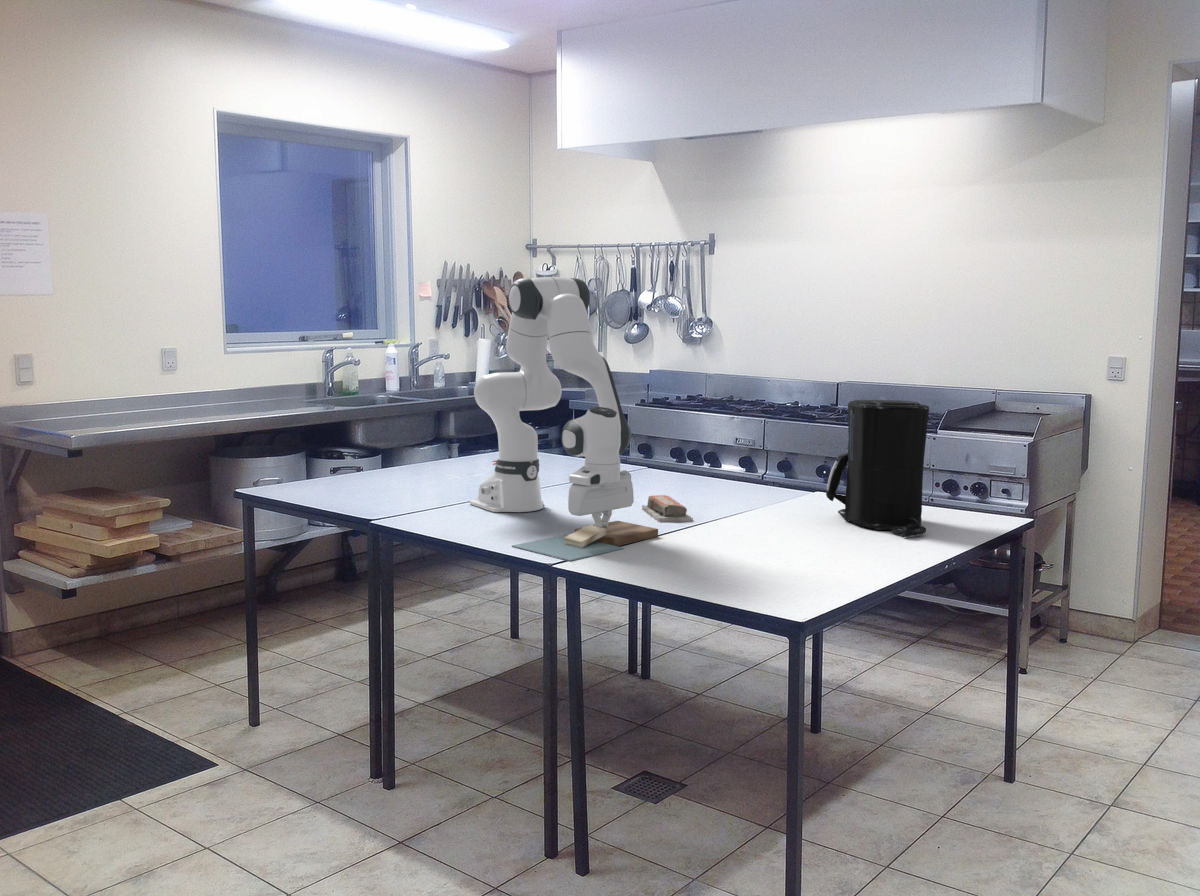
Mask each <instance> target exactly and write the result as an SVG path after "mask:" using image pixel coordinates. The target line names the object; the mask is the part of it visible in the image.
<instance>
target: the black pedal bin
mask: <svg viewBox="0 0 1200 896" xmlns="http://www.w3.org/2000/svg"><path fill="white" fill-rule="evenodd" d="M929 412H930V406H928V405H926V404H921V403H919V402H917V401H911V400H894V399H893V400H892V399H851V400H850V401H848V403H847V419H848V420H847V421H848V422H847V424H848V425H847V426H848V429H847V430H848V445H847V448H846V449H847V452H846V453H841V454H838V456H837V457H836V459H835V461H834V464H833V465H832V467H831V469H830V472H829V476H828V480H827V485H826V492H825V496H826V498H827V499H829V500H830V501H831V502H833V501H834V499H836V500H837V501H839V502H840V503H841V504H843V505H844V508H841V509H838V510H837V513H838V514H839V515H840V516H842V517H843V518H844V519H843V520H844V521H845V522H850V523H852V524H856V525H858V526H861V527H864V528H867V529H874V530H877V531H892V534H895V535H898V536H899V535H901V538H904V537H906V538H907V537H912V536H918V535H922V534H925V533H926V532H927V528H926V527H925V526H922V511H923V483H924V482H923V481H924V479H923V478H924V464H925V451H926V443H927V434H928V425H929V424H928V422H929V414H930V413H929ZM846 467H847V471H846V472H847V475H846V476H847V477H846V487H845V495H842V494H839V493H838V494H837V492H838V488H839V487H840V485H841V484H840V483H841V481H842V478H843V475H844V472H845V470H846ZM913 529H917V530H913Z"/></svg>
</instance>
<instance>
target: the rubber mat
mask: <svg viewBox="0 0 1200 896" xmlns="http://www.w3.org/2000/svg"><path fill="white" fill-rule="evenodd" d="M568 535H569V534H566V533H565V534H561V535H556V536H551V537H546V538H542V539H537V540H532V541H527V542H522V543H518V544H513V545H511V547H512V548H515V549H519V550H522V551H523V550H524V551H528V552H532V553H535V552H536V554H539V553H541V554H540V555H543V554H545V555H544V556H547V555H549V556H548V557H551V556H554V557H553V558H555V557H557V558H556V559H559V558H561V559H560V560H563V559H564V560H563V561H568V562H573V561H577V560H581V559H582V560H583V559H586V558H590V557H595V556H598V555H603V554H607V553H612V552H616V551H620V550H624V547H623V546H614V545H610V544H605V543H601V542H597V541H593V542H592V543H590V544H588V545H586V546H584V547H582V548H581V547H577V546H573V545H568V544H564V537H566V536H568Z"/></svg>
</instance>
